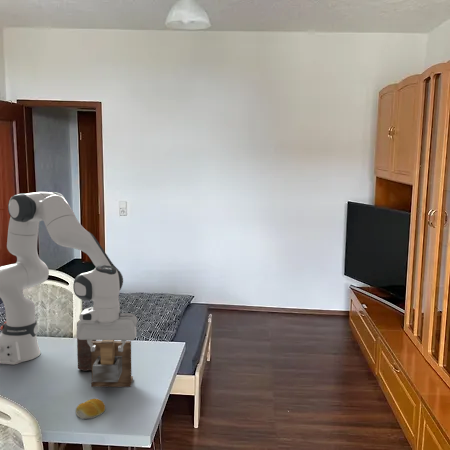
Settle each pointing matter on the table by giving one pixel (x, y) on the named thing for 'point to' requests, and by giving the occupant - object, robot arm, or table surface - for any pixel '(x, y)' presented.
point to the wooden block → (107, 352)
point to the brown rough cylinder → (84, 355)
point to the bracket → (112, 367)
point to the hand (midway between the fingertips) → (107, 351)
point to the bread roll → (90, 409)
